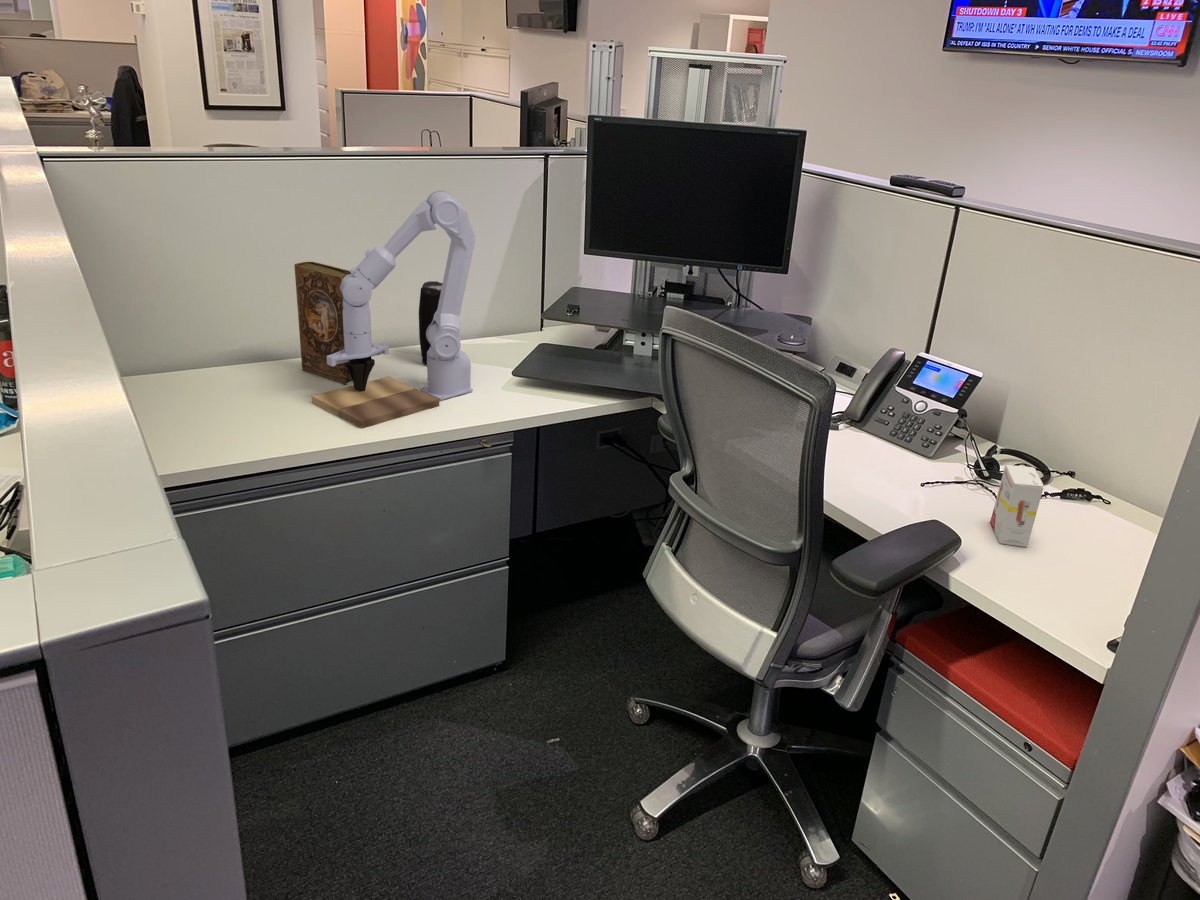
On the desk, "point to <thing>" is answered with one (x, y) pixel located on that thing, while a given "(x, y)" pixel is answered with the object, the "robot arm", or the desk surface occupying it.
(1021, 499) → the ink box
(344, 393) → the oak plank
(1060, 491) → the desk surface
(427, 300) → the portable speaker
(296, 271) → the book
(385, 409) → the walnut strip
